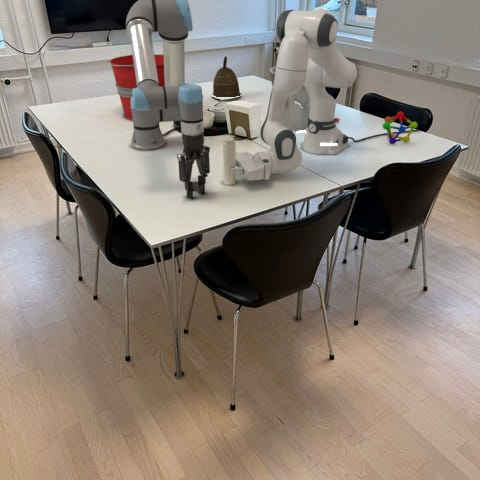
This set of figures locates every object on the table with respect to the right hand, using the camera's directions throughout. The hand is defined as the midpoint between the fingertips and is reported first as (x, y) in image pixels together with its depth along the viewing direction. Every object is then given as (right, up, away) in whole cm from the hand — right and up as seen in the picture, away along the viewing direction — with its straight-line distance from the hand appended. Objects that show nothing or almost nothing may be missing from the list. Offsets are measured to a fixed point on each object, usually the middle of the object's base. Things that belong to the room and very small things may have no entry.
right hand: (227, 167), depth 168 cm
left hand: (-11, -11, -6) cm, 17 cm away
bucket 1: (-47, +43, +80) cm, 103 cm away
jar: (+1, -5, +4) cm, 6 cm away
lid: (-11, -8, -8) cm, 16 cm away
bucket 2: (+34, +33, +65) cm, 81 cm away
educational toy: (+79, +19, +43) cm, 92 cm away
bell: (-4, +63, +113) cm, 130 cm away
